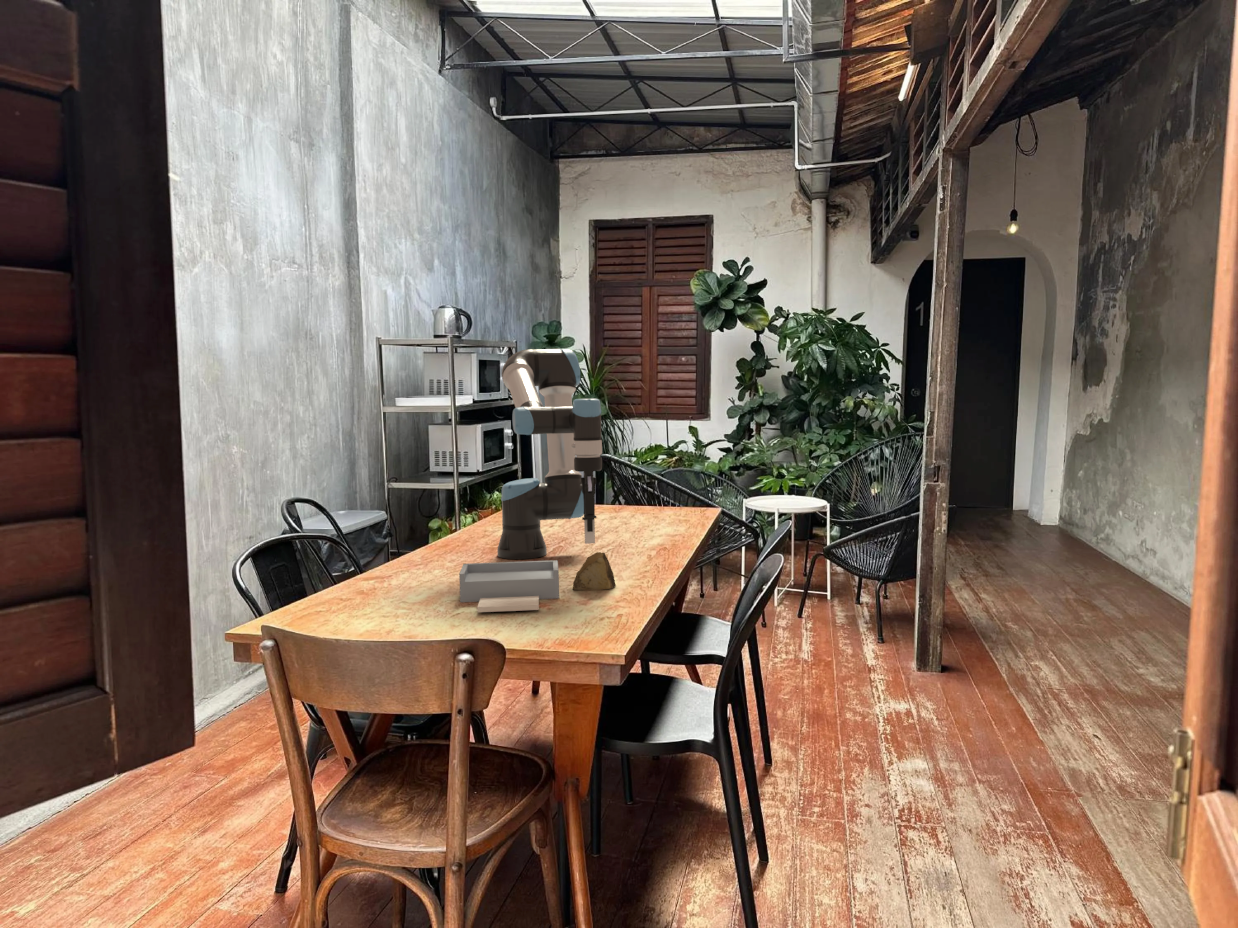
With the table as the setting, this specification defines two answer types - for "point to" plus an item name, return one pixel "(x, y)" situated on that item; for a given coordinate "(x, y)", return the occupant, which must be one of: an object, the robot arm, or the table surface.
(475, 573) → the bed
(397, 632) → the table surface
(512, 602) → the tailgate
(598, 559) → the rock
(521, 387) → the robot arm
